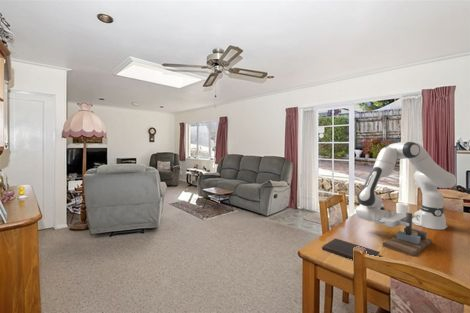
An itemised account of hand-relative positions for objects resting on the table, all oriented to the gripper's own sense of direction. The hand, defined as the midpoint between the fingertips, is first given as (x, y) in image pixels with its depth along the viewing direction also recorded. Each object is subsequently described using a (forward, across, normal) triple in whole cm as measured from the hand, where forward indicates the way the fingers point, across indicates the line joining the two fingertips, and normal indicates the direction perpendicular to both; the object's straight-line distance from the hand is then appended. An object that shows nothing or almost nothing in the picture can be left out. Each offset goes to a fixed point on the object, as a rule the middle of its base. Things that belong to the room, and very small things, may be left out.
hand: (410, 223), depth 129 cm
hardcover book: (-14, -37, +13) cm, 42 cm away
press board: (-1, -1, +12) cm, 12 cm away
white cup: (-24, +58, +12) cm, 64 cm away
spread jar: (-32, +32, +12) cm, 47 cm away
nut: (-1, +6, +10) cm, 12 cm away
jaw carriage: (-1, 0, +10) cm, 10 cm away
